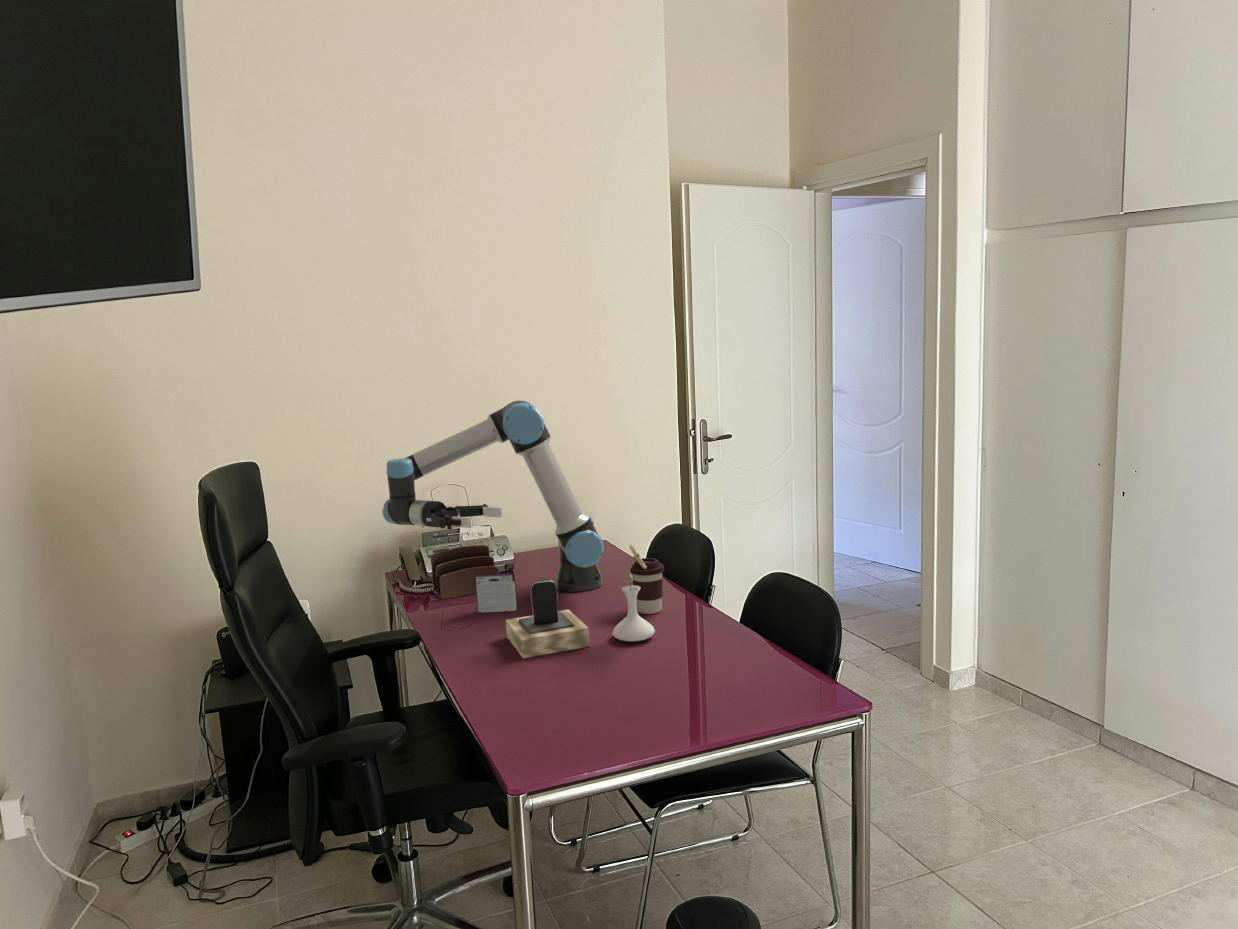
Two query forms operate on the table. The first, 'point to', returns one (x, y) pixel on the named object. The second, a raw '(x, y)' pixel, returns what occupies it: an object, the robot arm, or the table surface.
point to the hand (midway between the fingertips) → (487, 517)
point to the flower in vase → (633, 612)
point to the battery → (544, 601)
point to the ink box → (496, 593)
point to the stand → (547, 635)
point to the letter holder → (461, 570)
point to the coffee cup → (648, 585)
